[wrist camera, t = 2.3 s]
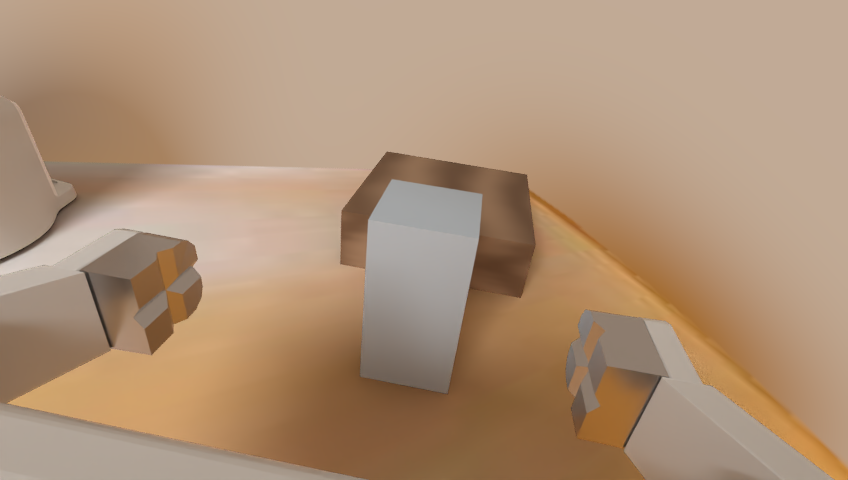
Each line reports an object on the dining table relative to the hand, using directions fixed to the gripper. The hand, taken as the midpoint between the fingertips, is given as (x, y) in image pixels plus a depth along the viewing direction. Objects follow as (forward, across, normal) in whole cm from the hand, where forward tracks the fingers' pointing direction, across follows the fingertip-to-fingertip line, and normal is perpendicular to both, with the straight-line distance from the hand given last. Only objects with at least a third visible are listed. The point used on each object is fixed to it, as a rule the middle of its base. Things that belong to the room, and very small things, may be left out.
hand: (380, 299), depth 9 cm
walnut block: (+27, 0, +14) cm, 31 cm away
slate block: (+12, 0, +13) cm, 18 cm away
